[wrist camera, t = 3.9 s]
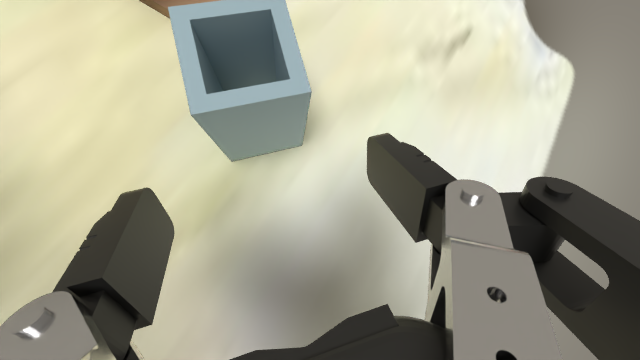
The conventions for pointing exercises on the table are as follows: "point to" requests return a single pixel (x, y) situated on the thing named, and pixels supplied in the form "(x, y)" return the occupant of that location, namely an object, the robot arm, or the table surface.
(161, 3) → the pin stand
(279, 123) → the collar
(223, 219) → the table surface
